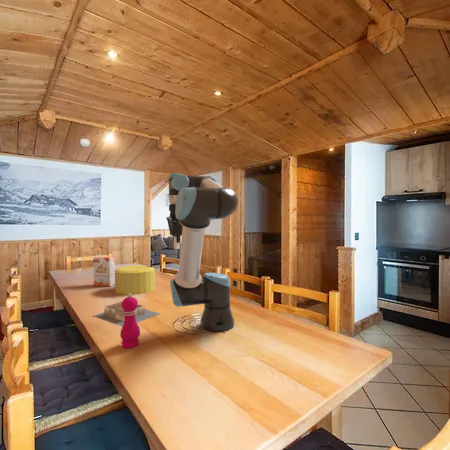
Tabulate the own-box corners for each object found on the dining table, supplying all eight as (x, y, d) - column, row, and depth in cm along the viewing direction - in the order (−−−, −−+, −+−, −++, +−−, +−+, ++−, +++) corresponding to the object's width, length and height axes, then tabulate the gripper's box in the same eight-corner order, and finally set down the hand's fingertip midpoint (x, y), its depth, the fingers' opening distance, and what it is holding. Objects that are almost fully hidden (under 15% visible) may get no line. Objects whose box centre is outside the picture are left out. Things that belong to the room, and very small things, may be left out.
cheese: (160, 285, 208) (159, 264, 207) (146, 295, 182) (146, 271, 181) (125, 284, 210) (125, 264, 210) (107, 294, 184) (106, 271, 184)
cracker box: (93, 285, 208) (92, 257, 207) (99, 284, 213) (98, 255, 213) (109, 287, 204) (109, 257, 203) (115, 285, 209) (114, 256, 209)
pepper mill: (133, 339, 116) (132, 289, 115) (144, 344, 111) (143, 292, 111) (116, 345, 110) (115, 293, 110) (127, 351, 106) (126, 297, 105)
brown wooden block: (144, 305, 144) (125, 300, 153) (123, 312, 134) (104, 306, 144) (144, 314, 144) (125, 308, 153) (123, 321, 134) (104, 314, 144)
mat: (160, 314, 145) (160, 313, 145) (124, 328, 128) (124, 326, 128) (128, 305, 160) (128, 304, 160) (92, 316, 143) (92, 315, 143)
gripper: (162, 204, 151) (162, 248, 151) (180, 203, 143) (180, 250, 144) (172, 204, 157) (173, 247, 158) (190, 203, 149) (190, 248, 150)
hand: (176, 248), depth 151 cm, fingers closed
